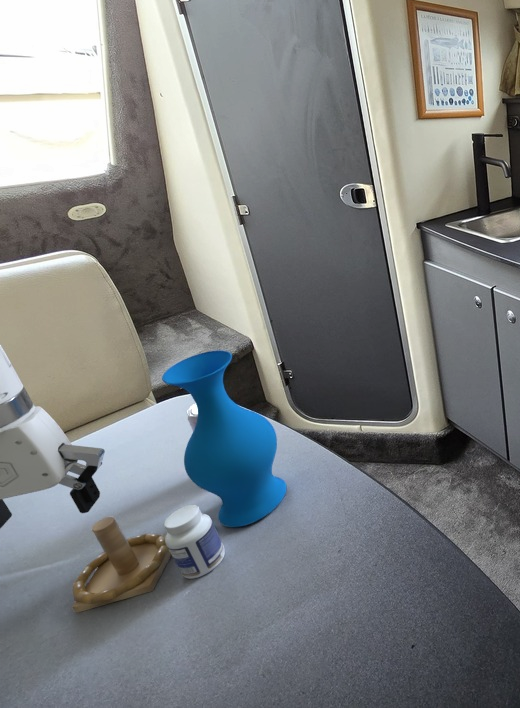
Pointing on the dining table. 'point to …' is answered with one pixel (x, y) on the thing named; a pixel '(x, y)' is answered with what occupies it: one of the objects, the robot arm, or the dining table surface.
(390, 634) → the dining table surface
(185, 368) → the vase
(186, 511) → the pill bottle
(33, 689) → the dining table surface
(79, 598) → the ring
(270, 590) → the dining table surface
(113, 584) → the wooden base with post
